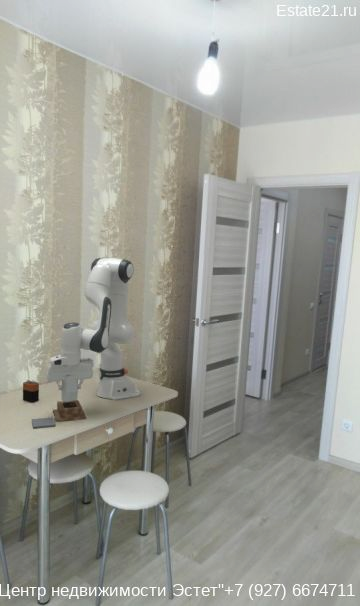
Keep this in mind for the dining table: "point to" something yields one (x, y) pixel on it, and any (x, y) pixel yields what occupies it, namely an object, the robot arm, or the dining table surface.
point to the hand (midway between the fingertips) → (69, 389)
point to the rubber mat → (43, 422)
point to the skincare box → (69, 389)
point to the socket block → (69, 411)
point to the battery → (30, 391)
